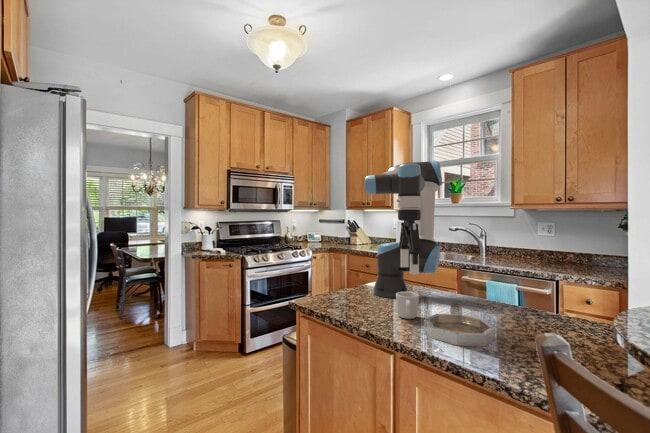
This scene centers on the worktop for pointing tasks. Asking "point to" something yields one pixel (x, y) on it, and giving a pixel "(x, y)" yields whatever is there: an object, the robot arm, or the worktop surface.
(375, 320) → the worktop surface
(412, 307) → the cup
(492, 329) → the octagonal tray
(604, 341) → the worktop surface
